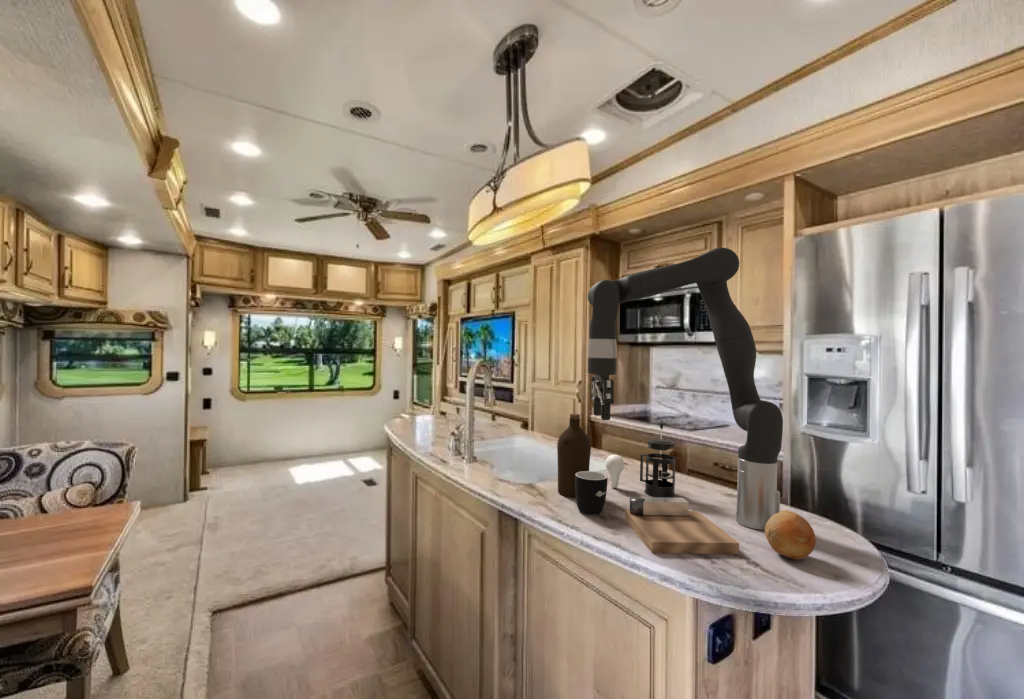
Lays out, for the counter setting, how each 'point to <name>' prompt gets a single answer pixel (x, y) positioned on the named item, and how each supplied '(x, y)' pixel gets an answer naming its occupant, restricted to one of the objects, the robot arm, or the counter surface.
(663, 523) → the wooden cutting board
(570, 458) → the olive oil
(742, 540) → the counter surface
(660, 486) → the french press
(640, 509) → the hinged leg
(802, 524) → the onion
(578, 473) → the mug
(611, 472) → the lightbulb
